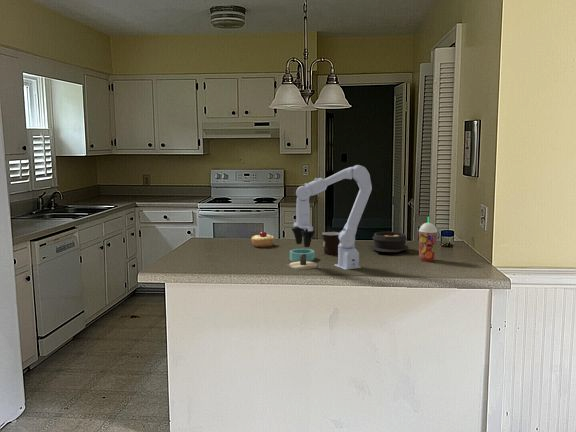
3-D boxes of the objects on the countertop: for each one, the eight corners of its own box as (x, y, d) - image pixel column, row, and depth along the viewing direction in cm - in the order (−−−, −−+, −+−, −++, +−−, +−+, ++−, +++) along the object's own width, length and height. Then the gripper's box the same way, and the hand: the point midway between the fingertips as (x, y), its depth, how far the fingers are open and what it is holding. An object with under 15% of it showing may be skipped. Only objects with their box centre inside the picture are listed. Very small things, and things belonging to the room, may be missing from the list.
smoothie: (424, 257, 255) (425, 214, 252) (440, 260, 249) (441, 216, 246) (414, 260, 249) (415, 216, 246) (430, 263, 243) (431, 218, 241)
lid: (322, 267, 235) (322, 255, 234) (296, 270, 230) (296, 258, 229) (309, 261, 246) (309, 250, 245) (284, 264, 241) (284, 253, 240)
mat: (322, 268, 235) (322, 267, 235) (296, 271, 230) (296, 270, 230) (309, 262, 246) (309, 261, 246) (284, 265, 241) (284, 264, 241)
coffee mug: (338, 256, 259) (339, 235, 258) (320, 255, 261) (320, 234, 259) (341, 251, 270) (341, 231, 269) (324, 250, 272) (324, 230, 271)
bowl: (318, 260, 250) (318, 252, 249) (296, 263, 245) (296, 254, 244) (307, 256, 260) (307, 247, 259) (285, 258, 255) (285, 250, 254)
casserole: (407, 256, 257) (407, 239, 256) (367, 254, 262) (367, 237, 261) (410, 246, 281) (410, 230, 280) (373, 245, 286) (373, 229, 285)
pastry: (257, 250, 278) (256, 232, 276) (248, 245, 288) (247, 228, 287) (278, 246, 283) (278, 230, 282) (268, 242, 294) (268, 226, 292)
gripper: (287, 212, 240) (287, 243, 241) (302, 216, 227) (302, 249, 228) (301, 211, 243) (301, 242, 244) (317, 215, 230) (317, 247, 231)
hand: (303, 245), depth 237 cm, fingers open, 7 cm apart
